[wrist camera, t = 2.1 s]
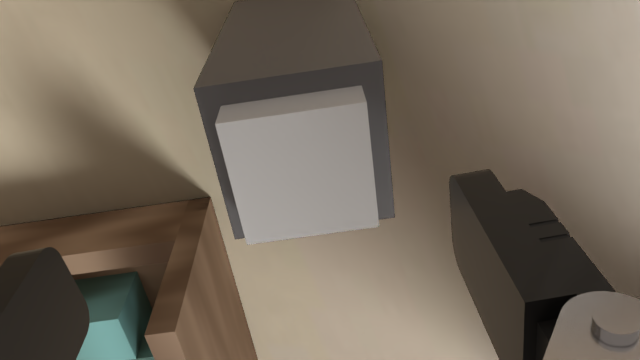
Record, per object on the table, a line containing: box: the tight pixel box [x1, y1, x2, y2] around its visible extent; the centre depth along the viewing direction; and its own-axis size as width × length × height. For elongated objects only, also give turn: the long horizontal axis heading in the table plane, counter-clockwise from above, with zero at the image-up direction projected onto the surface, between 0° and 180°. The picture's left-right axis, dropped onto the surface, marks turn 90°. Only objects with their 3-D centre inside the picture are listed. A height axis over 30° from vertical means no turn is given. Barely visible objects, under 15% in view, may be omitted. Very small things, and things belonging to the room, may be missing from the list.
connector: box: [194, 0, 395, 245], centre depth 16 cm, size 4×4×10 cm
